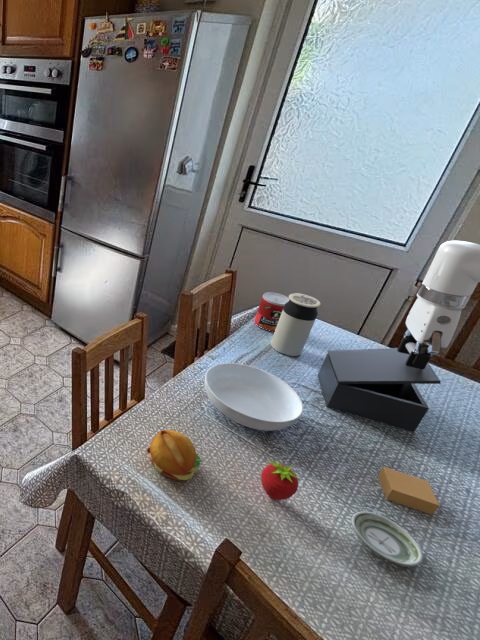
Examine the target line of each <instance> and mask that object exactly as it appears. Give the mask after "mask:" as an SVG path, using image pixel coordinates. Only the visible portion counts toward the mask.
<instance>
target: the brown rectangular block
mask: <svg viewBox="0 0 480 640" xmlns="http://www.w3.org/2000/svg"><path fill="white" fill-rule="evenodd" d="M377 478H378V481H379V483H380V486H381V488H382V491H383V494H384V497H385V499H386V500H387V501H388V500H389V501H391V502H393V503H397V504H399V505H401V506H405V507H408V508H411V509H413V510H417V511H419V512H423V513H425V514H428V515H431V516H433V515H434V514H435V513H436V512H437V510H438V509H439V507H440V503H439V501H438V499H437V497H436V495H435V492H434V490H433V488H432V486H431V485H430V482H429V481H428V480H426V479H422V478H419V477H417V476H413V475H411V474H408V473H405V472H401V471H399V470H395V469H392V468H389V467H386V466H383V467H382V468H381V470H380V472H379V473H378V474H377Z"/></svg>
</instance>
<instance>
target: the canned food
mask: <svg viewBox="0 0 480 640" xmlns="http://www.w3.org/2000/svg"><path fill="white" fill-rule="evenodd" d="M288 301H289V296H286V295H285V294H282V293H278V292H273V291H269V292H268V291H267V292H264V293H263V295H262V297H261V300H260V303H259V306H258V308H257V311H256V315H255V317H254V324H255V323H256V324H257V325H258V326H260V327H262V328H264V329H267V330H270V331H275V329H276V327H277V324H278V321H279V319H280V316H281V313H282V311H283V308H284V305H285V303H287V302H288ZM256 324H255V325H256ZM257 325H256V326H257ZM258 326H257V327H258ZM270 331H269V332H270Z"/></svg>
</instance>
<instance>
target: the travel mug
mask: <svg viewBox="0 0 480 640" xmlns="http://www.w3.org/2000/svg"><path fill="white" fill-rule="evenodd" d="M288 298H289V301H288V302H287V303H285V305H284V308H283V311H282V313H281V316H280V319H279V321H278V324H277V327H276V329H275V332H273V335H272V337H271V340H270V344H269V345H270V346H271V347H272V349H273V350H275V351H277V352H278V353H281V354H283V355H287V356H290V357H297V356H300V355H302V353H303V350H304V348H305V346H306V344H307V341H308V339H309V336H310V334H311V331H312V329H313V327H314V324H315V323H316V320H317V317H318V314H319V312H318V308H319V307H321V302H320V301H319V300H318V299H317V298H315V297H314V296H311V295H308V294H304V293H297V292H295V293H290V294H289V295H288Z"/></svg>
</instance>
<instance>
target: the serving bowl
mask: <svg viewBox="0 0 480 640" xmlns="http://www.w3.org/2000/svg"><path fill="white" fill-rule="evenodd" d="M204 389H205V393H206V395H207V398H208V399H209V401H210V403H212V405H213V406H214V407H215V408H216V410H217V411H219V412H220V413H221V414H222V415H224V416H225V417H226V418H228V419H229V420H231V421H233V422H235V423H237V424H239V425H241V426H244V427H245V428H250V429H253V430H258V431H264V432H265V431H266V432H273V431H281V430H284V429H287V428H289V427H291V426H293V425H294V424H295V423H297V422H298V420H299V419H300V418H301V416H302V415H303V413H304V403H303V400H302V399H301V397H300V395H299V394H298V392H296V391H295V389H294V388H292V386H290V385H289V384H288V383H287V382H286V381H284V380H282V379H281V378H280V377H278V376H276V375H275V374H272V373H271V372H268V371H266V370H265V369H261V368H258V367H256V366H253V365H248V364H243V363H236V362H223V363H218V364H215V365H212V366H211V367H209V368H208V369H207V370H206V372H205V374H204Z"/></svg>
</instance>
